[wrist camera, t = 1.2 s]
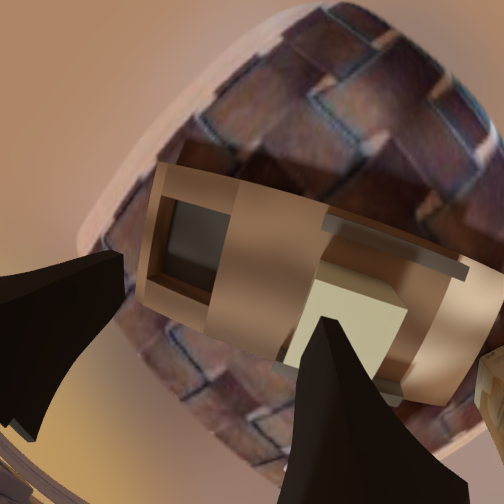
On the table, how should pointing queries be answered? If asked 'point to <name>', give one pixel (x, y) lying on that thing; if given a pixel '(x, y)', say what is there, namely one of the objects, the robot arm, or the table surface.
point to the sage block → (350, 313)
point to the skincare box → (492, 395)
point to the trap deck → (307, 277)
